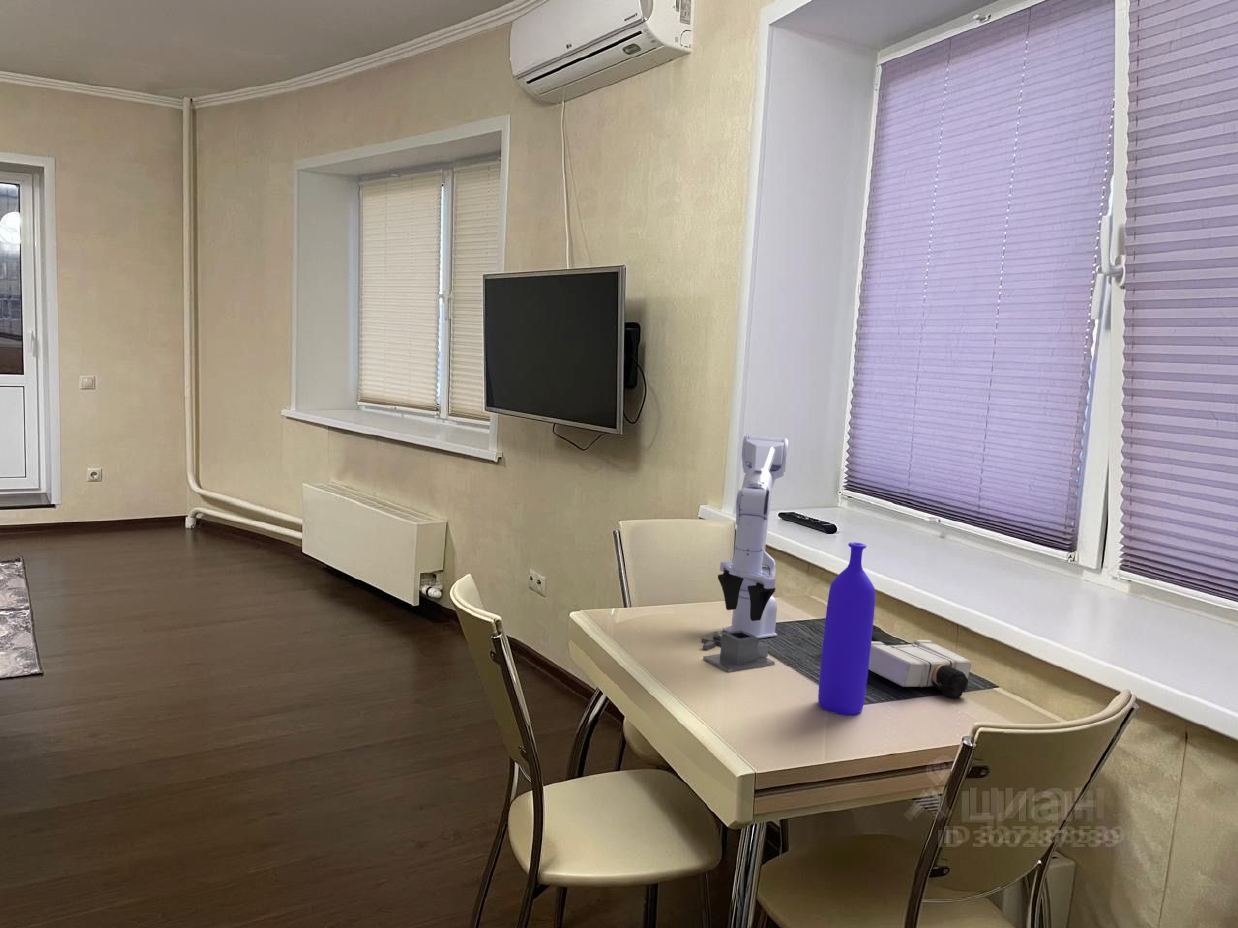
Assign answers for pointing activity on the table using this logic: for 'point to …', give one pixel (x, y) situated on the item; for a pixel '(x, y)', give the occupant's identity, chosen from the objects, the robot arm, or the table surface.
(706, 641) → the gray t-shaped latch
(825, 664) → the bottle
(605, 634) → the table surface
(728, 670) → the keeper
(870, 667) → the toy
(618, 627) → the table surface
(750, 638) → the gray hollow cube
